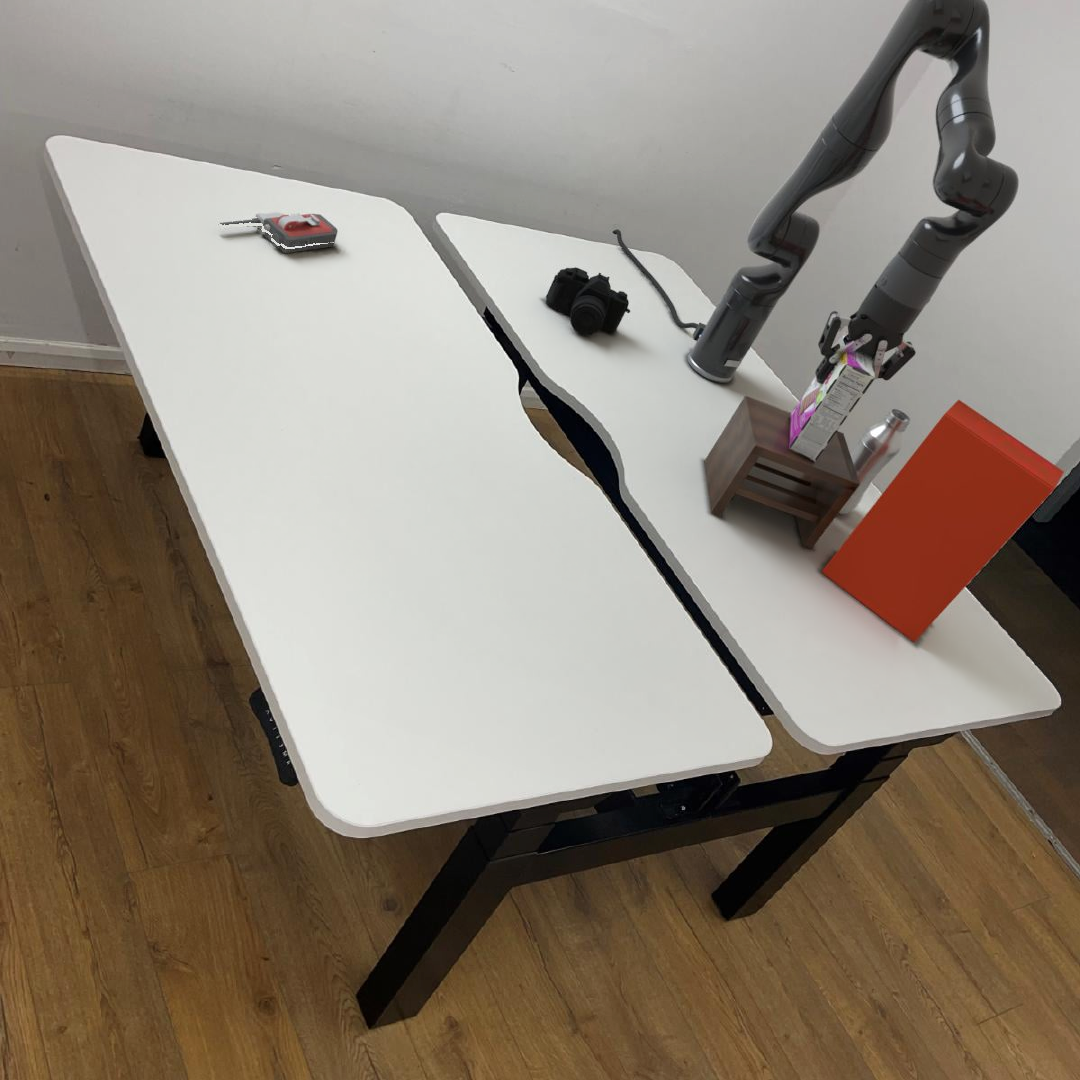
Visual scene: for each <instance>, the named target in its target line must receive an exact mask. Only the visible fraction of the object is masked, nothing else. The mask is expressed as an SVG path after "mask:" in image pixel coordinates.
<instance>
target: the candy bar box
mask: <svg viewBox="0 0 1080 1080" xmlns="http://www.w3.org/2000/svg"><path fill="white" fill-rule="evenodd" d="M847 332H848V331H844V332H843V334H842V336H843V335H845V334H846V333H847ZM849 343H850V342H849ZM849 343H848V344H849ZM874 378H875V371H874V363H873V360H872V357H869V356H867V355H866V354H865V353H863V352H857V351H854V352H852V353H851V354H848V353H845V354H844V355H843V356H842V357H841V359H840V360H838V361H837V362H836V363H835V367H834V368H833V370H832V371H831V373H830V374H829V376H828V377H827V379H826V380H825V382H824V383H823V384H820V383H818V382H817V379H816V376H814V378H813V379H812V381H811V383H810V384H809V385H808V387H807V389H806V390H805V392H804V393H803V395H802V396H801V398H800V399H799V401H798V403H797V404H796V405H795V407H794V408H793V410H792V411H791V412H790V413H791V414H790V439H789V449H790V450H792V451H793V452H795V453H797V454H800V455H802V456H804V457H806V458H808V459H810V460H813V461H816V460H817V459H818V457H819V456H820V454H821V453H822V452H823V450H824V449H825V448H826V446H827V445H828V443H829V442H830V440H831V439H832V438H833V436H834V435H835V433H836V432H837V431H839V430H840V428H841V426H842V425H843V423H845V421H846V419H848V416H849V415H850V414H851V412H852V411H853V410H854V408H855V407H856V406H857V404H858V402H859V401H860V400H861V398H862V396H863V395H864V394H865V393H866V392H865V390H866V389H867V388H868V387H869V388H870V386H871V385H872V383H873V382H874V381H875V380H874ZM873 380H874V381H873ZM872 381H873V382H872ZM871 382H872V383H871ZM870 384H871V385H870ZM869 385H870V386H869ZM869 388H868V389H869ZM868 389H867V390H868ZM867 390H866V391H867ZM864 392H865V393H864Z"/></svg>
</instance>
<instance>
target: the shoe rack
mask: <svg viewBox="0 0 1080 1080" xmlns="http://www.w3.org/2000/svg"><path fill="white" fill-rule="evenodd" d="M791 413H792V412H789V411H787V410H784V409H782V408H779V407H776V406H774V405H771V404H769V403H766V402H764V401H761V400H759V399H756V398H753V397H750V396H748V395H744V397H743V398H742V400H741V402H740V403H739V405H738V406H737V408H736V410H735V411H734V413H733V414H732V415H731V418H729V421H728V422H727V423H726V426H725V427H724V428H723V430H722V432H721V433H720V435H719V436H718V438H717V440H716V442H715V443H714V445H713V446H712V448H711V449H710V452H709V453H708V455H707V456H706V457H705V459H704V461H703V465H704V470H705V478H706V479H705V480H706V487H707V493H708V500H709V501H708V502H709V507H710V514H713V515H716V516H718V517H721V516H722V515H723V513H724V511H725V509H726V508H727V507H728V505H729V503H730V502H731V500H732V499H733V497H734V496H735V495H739V496H740V497H744V498H747V499H749V500H752V501H754V502H757V503H759V504H763V505H766V506H769V507H771V508H774V509H777V510H780V511H782V512H785V513H788V514H791V515H793V516H795V518H796V522H797V527H798V532H799V536H800V539H801V544H802V546H803V547H804V548H808V549H813V547H814V546H815V545H816V543H817V542H818V541H819V540H820V538H821V537H822V536H823V535H824V533H825V532H826V530H827V529H828V528H829V527H830V525H831V523H833V521H835V520H834V519H836V517H837V516H838V515H839V514H840V513H839V512H840V510H841V509H842V508H843V506H844V505H845V504H846V502H847V501H848V500H849V498H850V497H851V496H852V494H853V493H854V492H855V491H856V489H857V488H858V487H859V485H860V483H859V480H858V477H857V474H856V470H855V467H854V464H853V461H852V458H851V452H850V449H849V446H848V443H847V440H846V436H845V434H844V432H842V431H839V430H837V432H836V433H835V435H834V436H833V438H832V439H831V440H830V442H829V443H828V445H827V446H826V448H825V449H824V450H823V452H822V453H821V454H820V456H819V457H818V459H817V460H816V461H813V460H810V459H808V458H806V457H804V456H802V455H800V454H797V453H795V452H793V451H792V450H790V449H789V439H790V414H791Z"/></svg>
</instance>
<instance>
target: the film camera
mask: <svg viewBox="0 0 1080 1080" xmlns="http://www.w3.org/2000/svg"><path fill="white" fill-rule="evenodd" d="M545 304H546V305H547V306H549V307H550V308H552V309H554V310H556V311H558V312H560V313H562V314H565V315H567V316H569V320H570V325H571V327H572V328H573V330H574V331H575V332H576V333H577V334H580V335H582V336H592V335H595V334H596V333H598V331H602V332H604V333H607V334H610V335H611V334H615V332H617V329H618V328H619V326H620V324H621V322H622V319H623V318H624V316H625V314H626V313H627V314H629V313H631V310H630V308H629V304H630V301H629V299H628V294H627V292H625V291H622V290H619V291H616V290H614V289H612V288H611V284H610V276H605V275H603V274H602V273H601V272H598V274H596V275H594V276H591V277H590V276H589V275H588V271H586V270H584V269H581V268H579V267H566V268H562V269H560V270H559V271H558V272H557V274H555V275H554V277H553V280H552V282H551V285H550V287H549V288H548V290H547V293H546V296H545Z"/></svg>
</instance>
